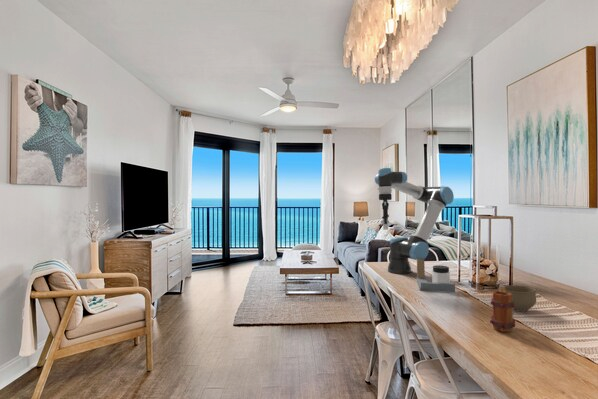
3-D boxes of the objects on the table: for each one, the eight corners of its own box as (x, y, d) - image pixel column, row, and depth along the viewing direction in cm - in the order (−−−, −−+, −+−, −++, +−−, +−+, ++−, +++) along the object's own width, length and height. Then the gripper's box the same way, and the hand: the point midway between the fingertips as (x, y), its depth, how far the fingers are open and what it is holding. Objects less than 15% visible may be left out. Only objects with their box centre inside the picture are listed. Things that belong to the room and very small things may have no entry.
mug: (515, 336, 120) (515, 295, 119) (489, 332, 124) (489, 292, 124) (515, 323, 132) (514, 285, 132) (491, 319, 136) (490, 283, 136)
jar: (445, 291, 176) (445, 269, 176) (430, 288, 182) (430, 267, 182) (452, 288, 182) (451, 266, 182) (437, 285, 188) (436, 264, 188)
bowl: (506, 303, 156) (506, 282, 155) (539, 309, 146) (539, 287, 146) (498, 310, 147) (498, 287, 147) (533, 317, 138) (532, 293, 138)
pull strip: (416, 278, 204) (416, 258, 204) (447, 279, 200) (446, 259, 200) (419, 290, 179) (419, 267, 179) (455, 292, 175) (454, 269, 174)
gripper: (379, 193, 215) (380, 226, 215) (378, 193, 191) (378, 230, 191) (391, 193, 213) (392, 226, 213) (391, 193, 189) (392, 230, 189)
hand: (385, 228), depth 202 cm, fingers open, 13 cm apart
